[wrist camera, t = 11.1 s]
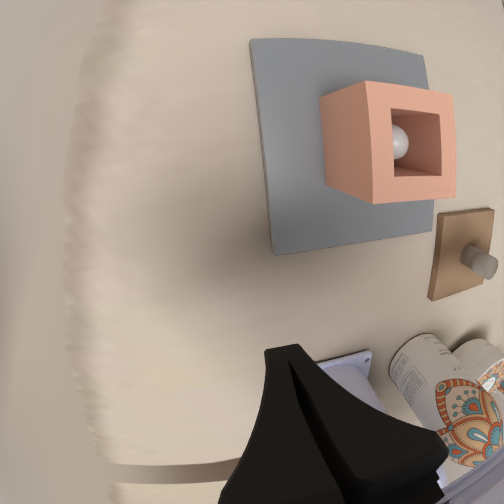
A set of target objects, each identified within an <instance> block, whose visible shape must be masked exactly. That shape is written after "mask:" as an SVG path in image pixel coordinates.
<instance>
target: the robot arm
mask: <svg viewBox="0 0 504 504" xmlns="http://www.w3.org/2000/svg"><path fill="white" fill-rule="evenodd" d="M264 356H265V365H266V372H265V382H264V390H263V395H262V400H261V404H260V409H259V412H258V416H257V419H256V422H255V425H254V428H253V431H252V434H251V436H250V439H249V441H248V444H247V446H246V448H245V451H244V453H243V455H242V457H241V459H240V461H239V463H238V465H237V467H236V468H235V470H234V472H233V474H232V475H231V477H230V478H229V480H228V481H227V483H226V485H225V486H224V488H223V489H222V491H221V494H220V498H219V501H218V504H504V445H503V446H502V447H501V448H499V449H498V450H497V451H496V452H494V453H493V454H492V455H490V456H489V457H488V458H487V459H485V460H484V461H483V462H481V463H480V464H478V465H477V466H476V467H474V468H473V469H471V470H470V471H469V472H467V473H466V474H464V475H463V476H461V477H460V478H458V479H457V480H455V481H453V482H452V483H450V484H447V476H446V474H445V471H444V469H443V466H442V463H443V462H444V461H445V460H446V458H447V457H448V454H449V449H448V447H447V446H446V444H445V443H444V441H443V440H442V438H441V437H440V436H439V435H438V434H437V433H436V431H433V430H429V429H425V428H422V427H418V426H415V425H412V424H409V423H406V422H403V421H401V420H398V419H396V418H394V417H392V416H389V415H388V413H387V411H386V410H385V408H384V406H383V405H382V403H381V401H380V400H379V398H378V396H377V395H376V393H375V391H374V390H373V388H372V386H371V385H370V383H369V381H368V380H367V379H368V374H369V369H370V364H371V359H372V353H371V351H369V350H367V351H363V352H360V353H356V354H352V355H349V356H345V357H341V358H337V359H333V360H329V361H325V362H321V363H317V364H316V363H315V362H314V361H313V360H312V359H311V357H310V356H309V355H308V354H307V353H306V352H305V351H304V350H303V348H302V347H301V346H300V345H299V344H292V345H287V346H282V347H277V348H271V349H266V350H265V351H264Z"/></svg>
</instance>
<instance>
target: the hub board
mask: <svg viewBox="0 0 504 504" xmlns="http://www.w3.org/2000/svg"><path fill="white" fill-rule="evenodd" d="M249 47H250V54H251V62H252V70H253V78H254V86H255V94H256V102H257V111H258V119H259V128H260V136H261V145H262V154H263V164H264V173H265V183H266V192H267V202H268V212H269V222H270V233H271V243H272V251H273V253H274V255H275V256H278V255H284V254H291V253H297V252H304V251H310V250H317V249H323V248H330V247H336V246H342V245H349V244H355V243H361V242H368V241H374V240H380V239H386V238H393V237H399V236H405V235H411V234H417V233H424V232H430V231H432V224H433V208H434V199H429V200H416V201H404V202H392V203H380V204H371V203H369V202H366V201H364V200H362V199H359V198H357V197H354V196H352V195H350V194H347V193H345V192H342V191H340V190H337V189H335V188H332V187H329V186H327V185H326V177H325V161H324V147H323V135H322V124H321V114H320V104H319V98H320V97H323V96H325V95H328V94H330V93H333V92H335V91H338V90H341V89H343V88H346V87H348V86H351V85H354V84H357V83H359V82H362V81H374V82H383V83H390V84H397V85H404V86H410V87H415V88H421V89H426V90H429V88H428V81H427V74H426V68H425V63H424V57H423V56H422V55H418V54H414V53H410V52H405V51H401V50H396V49H391V48H385V47H380V46H374V45H367V44H360V43H352V42H343V41H333V40H319V39H296V38H268V39H251V41H250V43H249ZM392 134H393V153H394V160H395V159H399V158H401V157H402V156H404V155H405V153H406V152H407V150H408V146H409V141H408V137H407V135H406V133H405V132H404V130H403V129H402V128H400V127H399V126H397V125H393V124H392Z"/></svg>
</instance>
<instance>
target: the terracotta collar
mask: <svg viewBox="0 0 504 504" xmlns="http://www.w3.org/2000/svg"><path fill="white" fill-rule="evenodd" d="M319 104H320V114H321V124H322V135H323V147H324V161H325V177H326V185H327V186H329V187H332V188H335V189H337V190H340V191H342V192H345V193H347V194H350V195H352V196H354V197H357V198H359V199H362V200H364V201H366V202H369V203H371V204H380V203H392V202H404V201H416V200H429V199H444V198H455V196H456V134H455V119H454V107H453V98H452V95H449V94H445V93H440V92H436V91H431V90H426V89H421V88H415V87H410V86H404V85H397V84H390V83H383V82H374V81H362V82H359V83H357V84H354V85H351V86H348V87H346V88H343V89H341V90H338V91H335V92H333V93H330V94H328V95H325V96H323V97H320V98H319ZM392 124H393V125H397V126H399V127H400V128H402V129H403V130H404V132H405V133H406V135H407V137H408V141H409V146H408V150H407V152H406V153H405V155H404V156H402V157H401V158H399V159H395V160H394V153H393V134H392Z"/></svg>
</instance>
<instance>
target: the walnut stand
mask: <svg viewBox="0 0 504 504" xmlns="http://www.w3.org/2000/svg"><path fill="white" fill-rule="evenodd" d="M494 211H495V210H493V209H490V208H486V209H478V210H469V211H461V212H453V213H444V214H438V220H437V233H436V243H435V252H434V260H433V267H432V274H431V280H430V286H429V292H428V298H429V299H430V300H431V301H435V300H438V299H441V298H444V297H447V296H450V295H453V294H456V293H459V292H462V291H464V290H467V289H470V288H473V287H475V286H478V285H481V284H483V280H484V278H486V279H487V280H489V279H491V278H492V277H493V276H494V275H495V273H496V271H497V267H498V260H497V259H496V258H495V257H493V256H491V255H489V249H490V243H491V237H492V229H493V221H494Z"/></svg>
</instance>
